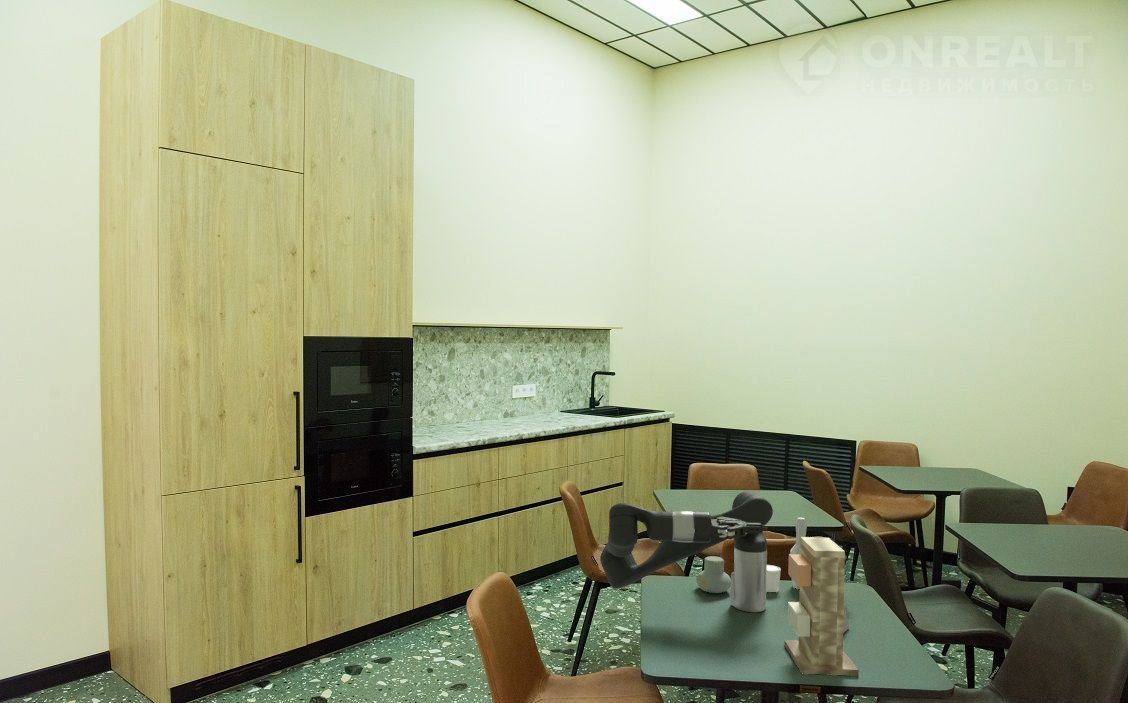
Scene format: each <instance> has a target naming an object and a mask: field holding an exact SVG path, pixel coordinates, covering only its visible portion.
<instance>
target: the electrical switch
mask: <svg viewBox="0 0 1128 703" xmlns="http://www.w3.org/2000/svg"><path fill="white" fill-rule="evenodd" d="M845 608H846V607H845V606H844V619H843V634H845V632H847V631H848V630H849V628H850V624H849V619H848V615H847V611H846V609H845Z"/></svg>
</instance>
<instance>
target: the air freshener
mask: <svg viewBox="0 0 1128 703" xmlns="http://www.w3.org/2000/svg"><path fill="white" fill-rule="evenodd" d="M724 563H725V560H724V559H723V557H720V556H714V555H713V556H712V555H710V556H707V557H705V558H704V565H703V566H704V568H703V569H704V570H702V571H700V572H699V573H698V574H697V575H696V583H697V586H698V587H699V589H701V590H702V591H704V592H705V591H706V592H705V593H707V592H709V593H708V594H722V592H723V593H725V592H727V591H728V590H730V589H731V576H730V575H729V574H727V573H726V572H725V571H724V569H725V568H724V567H725V564H724Z"/></svg>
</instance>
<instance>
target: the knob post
mask: <svg viewBox="0 0 1128 703" xmlns="http://www.w3.org/2000/svg"><path fill="white" fill-rule="evenodd" d="M800 554H801V555H802V556H803V557H804V558H805V559H806V560H807V561H808V563H809V564H810V565H811V586H800V590H799V593H798V594H799V601H798V602H800V603H801V604H802V606H803V607H804V608H805V609H806V611H807V612H808V613H809V615H810V637H804V636H798V639H784V640H783V642H784V645H783V646H784V647H785V649H786V651H787V652H788V655H789V656H790V657H791V659H792V660H793V663H794V664H795V665H797V666H796V667H797V669H798V668H799V669H798V671H799V670H800V671H801V672H800V671H799V672H800V674H801V673H803V674H802V675H808V674H832V675H831V676H837V675H847V676H846V677H859V672H860V671H859V669H858V667H857V665H855V664H854V662H853V661H852V660H851V658H850V657H849V656H848V654H846V652H845V651H844V633H843V619H844V607H845V604H844V603H845V568H846V567H845V565H846V559H845V555H846V552H845V550H844V549H843V548H842V547H840V546H839V545H838V544H837V543H836V542H835V541H834V542H833V541H832V538H830V537H816V536H815V537H813V536H812V537H811V536H810V537H809V536H806V537H801V538H800ZM849 675H850V676H849Z"/></svg>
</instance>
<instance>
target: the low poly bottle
mask: <svg viewBox="0 0 1128 703" xmlns="http://www.w3.org/2000/svg"><path fill="white" fill-rule="evenodd" d="M806 521H807V520H806V518H805V517H800V516H799V517H797V518H796V521H795V532H796V534H795V535H796V536H795V540H796V541H795V542H796V543H795V544H794V545H793V547H791V549H790V553H789V554H800V538H801V537H807V536H806V535H807V527H808V525H807V522H806ZM791 583H792V588H793V589H795V588H796V590H798V589H800V586H798V585H797V584H796V583H795V582H794V580H793V579H792V578H791Z"/></svg>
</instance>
